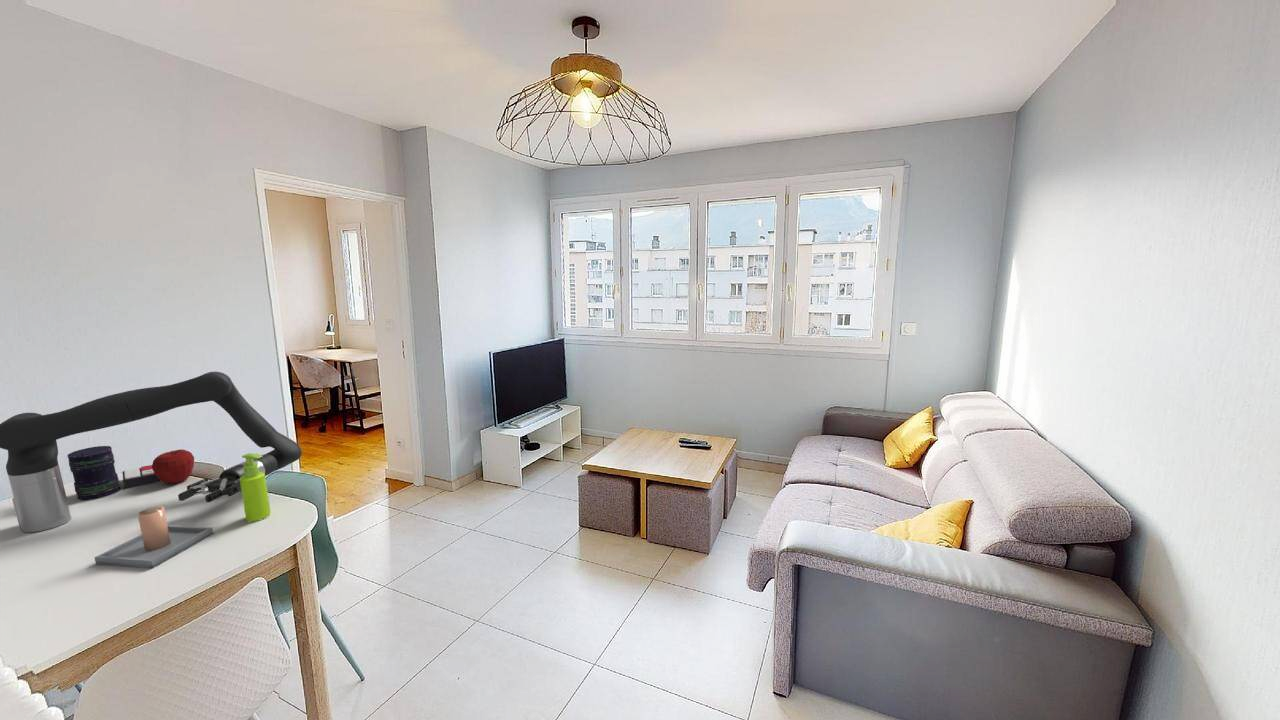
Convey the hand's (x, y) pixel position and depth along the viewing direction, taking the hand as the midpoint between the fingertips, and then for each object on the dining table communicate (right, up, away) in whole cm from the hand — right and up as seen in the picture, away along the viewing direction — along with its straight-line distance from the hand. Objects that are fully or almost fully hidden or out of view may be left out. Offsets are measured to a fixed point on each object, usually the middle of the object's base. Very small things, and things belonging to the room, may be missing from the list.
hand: (193, 498), depth 140 cm
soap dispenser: (+14, -8, +7) cm, 17 cm away
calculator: (-45, -3, +34) cm, 57 cm away
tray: (-1, -11, -9) cm, 14 cm away
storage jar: (-51, -5, +22) cm, 56 cm away
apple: (-34, -3, +31) cm, 46 cm away
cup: (-1, -10, -9) cm, 14 cm away
